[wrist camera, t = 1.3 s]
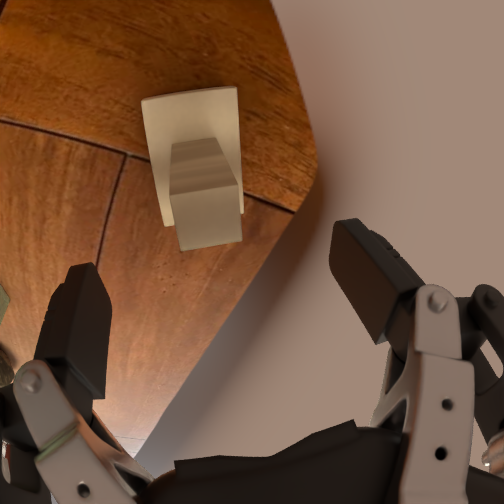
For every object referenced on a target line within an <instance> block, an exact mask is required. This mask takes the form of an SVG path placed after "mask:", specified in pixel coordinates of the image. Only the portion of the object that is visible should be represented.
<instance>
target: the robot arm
mask: <svg viewBox="0 0 504 504" xmlns="http://www.w3.org/2000/svg"><path fill="white" fill-rule="evenodd" d="M329 266H330V270H331V272H332V274H333V276H334V278H335V279H336V281H337V282H338V284H339V286H340V287H341V289H342V290H343V292H344V294H345V295H346V297H347V298H348V300H349V301H350V303H351V305H352V306H353V308H354V309H355V311H356V313H357V314H358V316H359V318H360V319H361V321H362V323H363V324H364V326H365V328H366V329H367V331H368V333H369V334H370V336H371V338H372V340H373V341H374V343H375V345H377V344H380V343H383V342H385V341H389V343H390V345H391V347H390V348H389V351H388V356H387V362H386V369H385V374H384V379H383V384H382V389H381V394H380V398H379V402H378V404H377V406H376V409H375V410H374V413H373V415H372V418H371V421H370V424H369V427H357V426H356V424H355V422H354V419H353V420H350V421H347V422H344V423H342V424H339V425H336V426H333V427H330V428H327V429H325V430H321V431H318V432H315V433H312V434H311V435H309V436H307V437H306V438H304V439H302V440H300V441H299V442H297V443H295V444H293V445H291V446H290V447H288V448H286V449H284V450H282V451H280V452H278V453H276V454H275V455H272V456H269V457H242V456H222V455H217V456H211V457H204V458H196V459H187V460H176V461H174V464H175V469H174V470H171V471H169V472H167V473H165V474H163V475H161V476H159V477H158V478H156V479H155V478H153V476H152V475H151V474H150V473H149V472H147V470H145V468H143V467H142V466H141V465H140V464H139V463H138V462H137V461H135V460H134V459H133V458H132V457H131V456H130V455H129V454H128V453H127V452H126V451H125V450H124V448H123V447H122V446H121V445H120V444H119V442H118V441H117V440H116V439H115V437H114V436H113V435H112V434H111V432H110V431H109V430H108V429H107V427H106V426H105V425H104V423H103V422H102V421H101V419H100V418H99V417H98V415H97V414H96V412H95V411H94V410H93V409H92V405H93V400H95V399H105V387H106V370H107V357H108V345H109V336H110V327H111V319H112V305H111V300H110V297H109V295H108V293H107V291H106V289H105V287H104V284H103V282H102V280H101V278H100V276H99V274H98V271H97V269H96V267H95V265H94V264H93V263H92V262H90V263H85V264H79V265H74V266H71V267H70V268H69V271H68V273H67V276H66V279H65V282H64V283H62V284H60V285H59V286H58V288H57V289H56V290H55V292H54V293H53V295H52V296H51V299H50V302H49V305H48V311H46V315H45V318H44V319H45V321H43V325H42V328H41V331H40V335H39V339H38V343H37V346H36V350H35V354H34V359H33V360H31V361H28V362H26V363H25V364H24V365H22V366H21V367H20V369H19V370H18V371H17V373H16V375H15V378H14V381H13V383H12V384H9V385H7V386H4V387H1V388H0V504H52V502H51V494H50V492H51V493H52V495H53V496H54V498H55V500H56V501H57V503H58V504H504V297H503V295H502V294H501V293H500V292H499V291H498V290H497V289H495V288H494V287H492V286H490V285H486V284H481V285H478V286H477V287H476V288H475V290H474V292H473V294H472V296H471V297H459V298H458V297H456V298H455V297H454V296H453V295H452V294H451V293H450V292H449V291H448V290H447V289H445V288H443V287H441V286H438V285H434V284H427V285H426V284H425V283H424V282H423V280H422V279H421V278H420V277H419V276H418V275H417V273H416V272H415V271H414V270H413V269H412V268H411V266H410V265H409V264H408V263H407V262H406V261H405V260H404V259H403V257H400V254H399V253H398V252H397V251H396V250H395V249H393V246H392V245H391V244H390V243H389V242H388V241H387V240H386V239H385V238H384V237H382V236H381V235H379V234H377V233H375V232H374V231H372V230H368V228H367V227H366V226H365V225H364V224H362V222H361V221H360V220H359V219H357V218H353V219H347V220H340V221H336V222H335V224H334V226H333V233H332V240H331V247H330V254H329ZM487 339H488V341H489V342H490V344H491V345H492V347H493V349H494V350H495V351H496V353H497V355H498V357H499V358H500V360H501V362H502V364H503V374H502V376H501V377H500V378H498V377H497V376H496V374H495V372H494V371H493V369H492V367H491V366H490V364H489V362H488V361H487V359H486V357H485V356H484V354H483V352H482V351H481V349H480V347H481V346H482V345H483V343H484V342H485V341H486V340H487ZM474 417H475V419H476V421H477V423H478V425H479V428H480V430H481V432H482V434H483V436H484V439H485V441H486V443H487V446H488V449H487V450H486V451H485V452H484V453H483V455H482V463H483V464H484V465H486V466H488V465H489V473H488V472H486V471H483V470H480V469H478V468H475V467H472V466H470V465H469V461H470V454H471V445H472V434H473V422H474ZM2 440H4V441H6V442H8V443H9V444H10V484H9V483H8V482H7V481H6V480H5V478H4V476H3V473H2Z"/></svg>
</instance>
